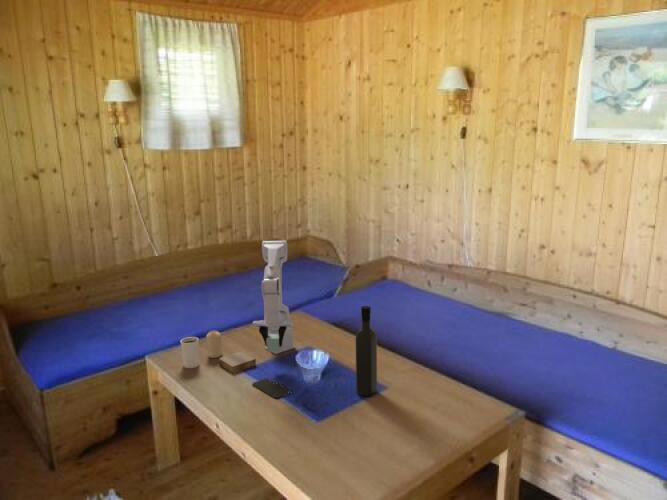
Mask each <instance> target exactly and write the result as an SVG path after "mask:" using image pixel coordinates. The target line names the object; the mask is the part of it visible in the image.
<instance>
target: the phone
mask: <svg viewBox="0 0 667 500" xmlns="http://www.w3.org/2000/svg"><path fill="white" fill-rule="evenodd" d="M268 378H269V377H266V378H262V379H259V380H257V381H255V382H253V383H252V384H251V386H252V387H254V388H256V389H257V390H259V391H260V392H262V393H264V394H266V395H268V396H269V397H271V398H272V399H274V400H279V399H281V397H282V398H284V397H285V396H284V395H286V394H288V392H289V391H290V392H292V393H293V390H292V389H290V388H289V387H287V386H285V385H283V384H281V383H279V382H278V381H276V382H277V384H276V382H274V381H275V380H274V381H272V380H273V379H272V378H270V380H271V379H272V380H271V382H270V380H269V379H268ZM273 383H274V384H273ZM280 385H281V386H280ZM282 386H283V387H282ZM290 392H289V393H290ZM283 396H284V397H283Z"/></svg>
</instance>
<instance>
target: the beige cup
mask: <svg viewBox="0 0 667 500" xmlns="http://www.w3.org/2000/svg"><path fill="white" fill-rule="evenodd" d="M199 342H200V340H199V338H198V337H196V336H187V337H184V338H182V339H181V340H180V345H181V346H180V347H181V355H182V362H183V367H184V368H185V369H194V368H197V367H198V366H199V365H200V347H199V345H200V344H199Z"/></svg>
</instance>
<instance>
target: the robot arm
mask: <svg viewBox="0 0 667 500" xmlns="http://www.w3.org/2000/svg"><path fill="white" fill-rule="evenodd" d="M261 251H262V252H261V253H262V258H263V260H264V262H265V263H267V265H266V266H265V267H264V271H263V272H264V273H263V274H264V275H263V279H262V280H261V286H260V287H261V293H262V299H263V310H264V311H263V312H264V315H263V316H264V317H263V320H262V319H261V320H253V321H252V328H258V332H259V334H260V335H261V337H262V339H263V341H264V345H265V347H264V349H265V350H267V343H266V338H267V337H268V335H269V334H279V346H280V347H281V349H280V351H279V352H272V353H273V354H274V355H278V354H281V353H283V352H286V351H288V350H293V349H295V347H296V346H295V345H294V343H295V342H294V332H293V327H294V322H293V321H291V320H290V319H291V317H290V309H289V307H288V306H287V305H285V304H284V303H283V290H282V289H283V286H282V285H283V284H282V283H283V282H282V281H283V279H282V278H283V276H282V274H283V273H282V267H283V265H284V264H283V263H286V262H288V261H287V260H288V242H287V240H286V239H284V240H263V241H262V242H261Z"/></svg>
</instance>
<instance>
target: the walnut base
mask: <svg viewBox="0 0 667 500" xmlns="http://www.w3.org/2000/svg"><path fill="white" fill-rule="evenodd" d="M256 360H257V359H256V358H255V357H253V356H251V355H250V354H248V353H246V352H245V351H242V350H241V351H237V352H235V353H231V354H229V355H226V356H221V357H218V364H219V365H220V366H221V367H223V368H224V369H226V370H227V371H228V372H230V373H231V374H233V373H237V372H240V371H243V370H246V369H249V368H251V366H252V367H255V366H256V365H257V361H256ZM248 367H249V368H248Z"/></svg>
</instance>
